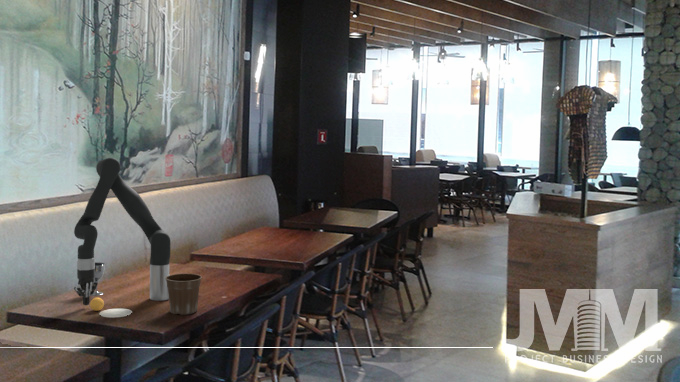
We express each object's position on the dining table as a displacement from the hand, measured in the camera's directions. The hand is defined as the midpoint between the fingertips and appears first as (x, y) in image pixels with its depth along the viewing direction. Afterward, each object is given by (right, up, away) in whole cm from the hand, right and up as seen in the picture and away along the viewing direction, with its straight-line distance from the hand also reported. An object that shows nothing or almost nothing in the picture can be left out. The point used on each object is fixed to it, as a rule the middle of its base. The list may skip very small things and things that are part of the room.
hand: (86, 304), depth 322 cm
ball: (+6, +1, -4) cm, 7 cm away
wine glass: (-4, +1, +26) cm, 26 cm away
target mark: (+16, -3, -7) cm, 17 cm away
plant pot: (+45, -3, -1) cm, 45 cm away
